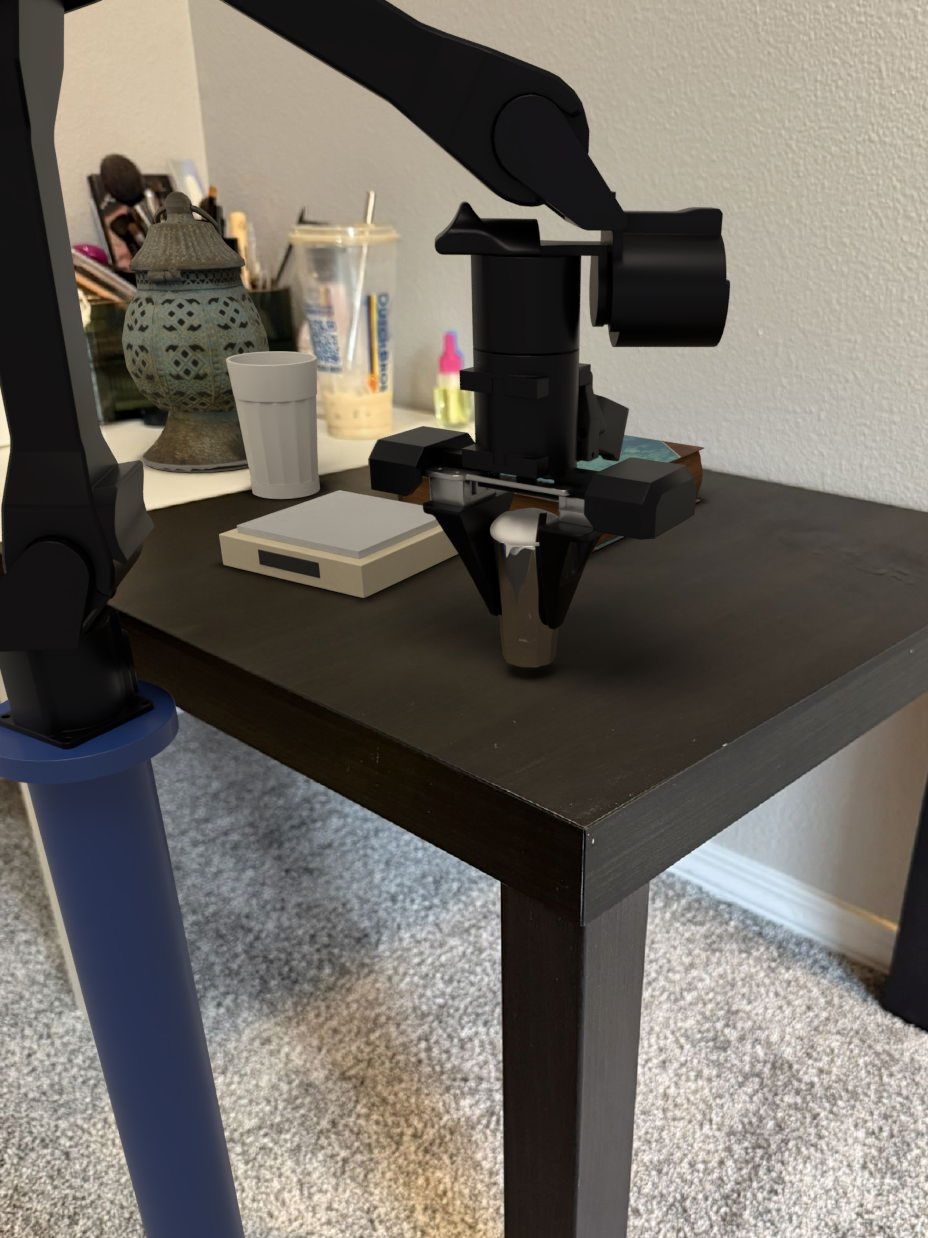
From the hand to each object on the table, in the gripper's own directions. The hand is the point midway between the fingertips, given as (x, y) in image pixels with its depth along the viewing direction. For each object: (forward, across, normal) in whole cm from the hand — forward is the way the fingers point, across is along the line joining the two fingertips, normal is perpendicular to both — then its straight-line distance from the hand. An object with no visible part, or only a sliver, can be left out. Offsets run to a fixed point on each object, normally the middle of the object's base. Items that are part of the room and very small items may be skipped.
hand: (526, 620), depth 65 cm
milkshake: (+3, 0, 0) cm, 3 cm away
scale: (+4, +24, -12) cm, 27 cm away
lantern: (+4, +58, -30) cm, 65 cm away
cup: (+4, +42, -24) cm, 49 cm away
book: (+4, +16, -31) cm, 35 cm away
